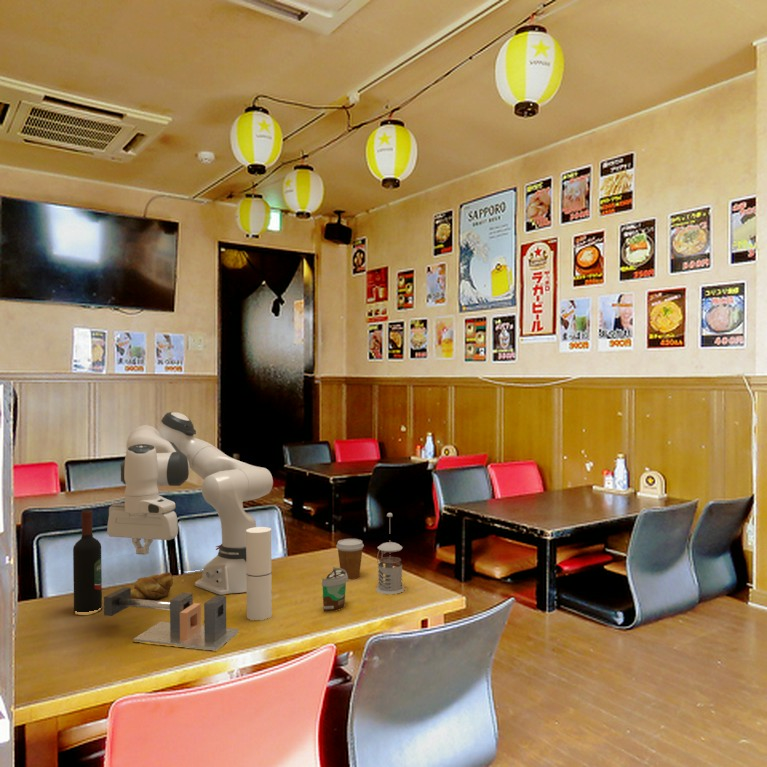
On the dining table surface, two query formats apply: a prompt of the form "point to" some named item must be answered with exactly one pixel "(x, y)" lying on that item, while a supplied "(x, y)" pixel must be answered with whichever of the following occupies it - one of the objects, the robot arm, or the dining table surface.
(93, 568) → the wine bottle
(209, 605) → the shaft frame
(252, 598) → the cylindrical container
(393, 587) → the french press
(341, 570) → the food container
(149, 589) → the bread roll
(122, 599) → the shaft
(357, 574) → the disposable coffee cup
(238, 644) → the dining table surface
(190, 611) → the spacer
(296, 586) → the dining table surface
